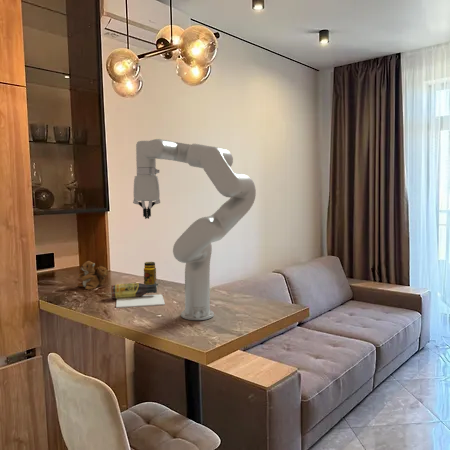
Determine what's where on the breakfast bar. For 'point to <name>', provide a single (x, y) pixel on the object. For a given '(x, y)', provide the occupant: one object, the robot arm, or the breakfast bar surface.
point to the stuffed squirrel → (92, 275)
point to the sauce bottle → (131, 290)
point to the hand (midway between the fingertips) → (147, 218)
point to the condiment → (150, 273)
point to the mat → (140, 301)
